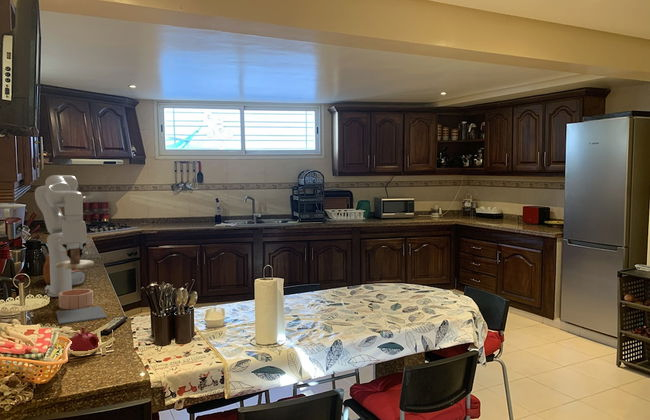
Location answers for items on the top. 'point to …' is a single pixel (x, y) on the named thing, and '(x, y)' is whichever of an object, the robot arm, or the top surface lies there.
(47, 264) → the bread
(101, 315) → the mat
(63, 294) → the bowl
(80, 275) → the tin
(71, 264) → the lid
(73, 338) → the pomegranate
